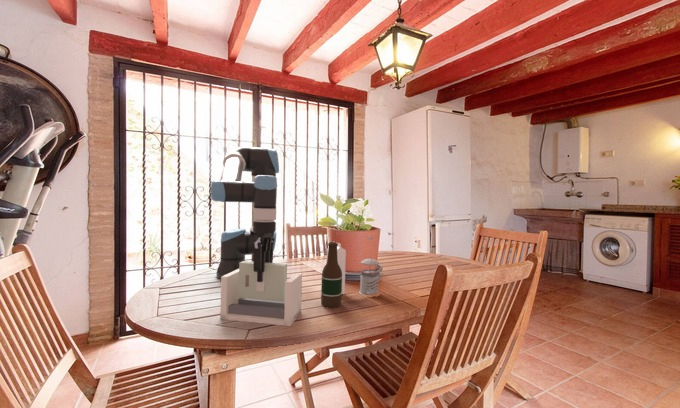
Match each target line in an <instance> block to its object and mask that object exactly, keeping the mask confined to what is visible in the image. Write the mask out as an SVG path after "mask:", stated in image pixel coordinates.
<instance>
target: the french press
mask: <svg viewBox="0 0 680 408" xmlns="http://www.w3.org/2000/svg"><path fill="white" fill-rule="evenodd" d="M368 239H369V240H374V237H373V236H369V237H368ZM369 244H370V245H369V246H370V248H369V250H370V251H369V252H370V253H369V258H365V259H363V260H361V261H360V264H361V265H364V266H374V267H375V269H378V270H379V271H378V270H375V269H374V270H373V269H370V268H368V269H362V270H361V274H360V281H359V283H360V284H359V286H360V287H359V291H358V292H359V293H360V294H362V295H375V294H377V293H378V292H379V281H380V280H382V277H383V274H381V270H383V268H382V266H381V265H380V261H378V260H377V259H375V258H371V256H372V255H371V252H372V242H370V243H369ZM376 266H377V267H376ZM380 269H381V270H380ZM378 273H379V274H378ZM379 277H380V278H379Z"/></svg>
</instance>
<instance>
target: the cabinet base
mask: <svg viewBox="0 0 680 408" xmlns="http://www.w3.org/2000/svg"><path fill="white" fill-rule="evenodd" d="M302 288H303V273H301V272H295V273H294V274H293V275H292V276H291V277H289V278H287V281H286V282H285V301H283V302H282V301H270V300H259V299H248V298H239V269H237V270H235V271H233V272H230V273H228V274H226V275H224V276H222V277H221V279H220V313H219V314H220V318H219V319H220V320H226V321H228V320H229V321H236V322H245V323H246V322H249V323H255V324H256V323H258V324H267V325H277V326H286V327H291V325H292V324H293V323H294V322H295V321H296V319H297V318H298V317H299V315H300V314H301V312H302Z"/></svg>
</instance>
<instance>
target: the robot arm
mask: <svg viewBox="0 0 680 408" xmlns="http://www.w3.org/2000/svg"><path fill="white" fill-rule="evenodd" d="M222 164H223V165H222V166H223V170H222V173H221V176H220V179H218V180H213V181H211V184H210V198H211V200H212V201H214V202H221V203H253V210H252V213H253V218H252V219H253V221H252V226H251V227H250V229H249V231H247V230H246V229H245V228H235V229H229V230H228V229H227V230H225V231H223V232H221V237H220V262H219V263H218V267H217V270H216V278H217V279H220V280H221V277H222V276H224V275H226V274H228V273H230V272H233V271H235V270H237V269H239V263H240V262H242V261H246V256H249V255H253V257H252V258H253V261H252V262H253V267H254V272H257V284H256V291H263V292H264V291H265V272H264V266H265V262H266V263H274V261H273V260H274V251H275V248H276V243H277V232H276V231H277V230H276V229H277V222H276V220H277V197H278V196H277V193H278V191H277V190H278V178H277V174H278V173H280V166H279V155H278V152H277V150H276V149H274V148H268V147H254V146H239V147H237V148H234V149H232V150H230V151H229V152H228V153H227V154H225V156H224V158H223V161H222ZM243 172H249V173H251V177H252V178H253V179H254V181H242V178H243V177H242V176H243Z"/></svg>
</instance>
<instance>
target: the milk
mask: <svg viewBox="0 0 680 408" xmlns="http://www.w3.org/2000/svg"><path fill="white" fill-rule="evenodd" d="M335 242H336V241H335ZM336 243H337V244H338V246H337V260H338V265H339V266H340V268H341V271H342V294H343V295H345V294H344V293H346V292H345V291H346V290H345V289H346V265H347V264H346V260H347V259H346V258H347V249H345V248H343V247H342V244H341V243H340V242H336ZM328 249H329V247H328V248H326V260H325V261H326V264H327V260H328ZM326 264H325V265H326Z"/></svg>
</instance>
